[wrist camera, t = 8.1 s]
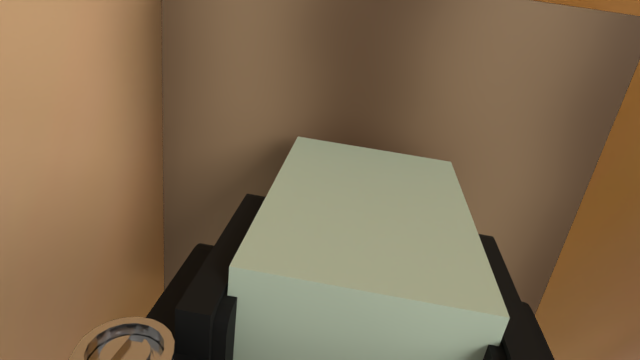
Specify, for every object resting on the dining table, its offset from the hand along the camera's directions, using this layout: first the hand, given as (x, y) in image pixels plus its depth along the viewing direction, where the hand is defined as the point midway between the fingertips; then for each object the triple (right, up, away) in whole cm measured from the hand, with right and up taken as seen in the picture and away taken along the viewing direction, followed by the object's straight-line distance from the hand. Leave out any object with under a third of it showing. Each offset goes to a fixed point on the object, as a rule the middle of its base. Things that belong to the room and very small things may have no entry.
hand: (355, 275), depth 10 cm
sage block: (0, +1, +3) cm, 3 cm away
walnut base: (+1, +3, +6) cm, 7 cm away
